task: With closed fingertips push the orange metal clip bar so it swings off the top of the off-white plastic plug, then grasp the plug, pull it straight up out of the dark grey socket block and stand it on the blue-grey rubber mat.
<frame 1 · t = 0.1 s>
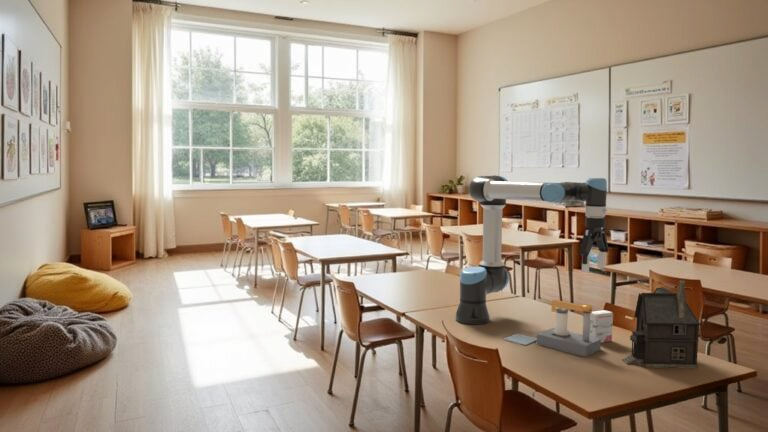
hand: (593, 270, 222), 28 cm above the table, fingers open, 13 cm apart
ink box: (599, 341, 222), on the table
plug: (560, 344, 217), resting in socket
model house: (653, 359, 201), on the table
clip: (571, 308, 212), point 15 cm above the table, hinge at 0.0°
socket: (568, 346, 214), on the table
mat: (521, 339, 223), on the table
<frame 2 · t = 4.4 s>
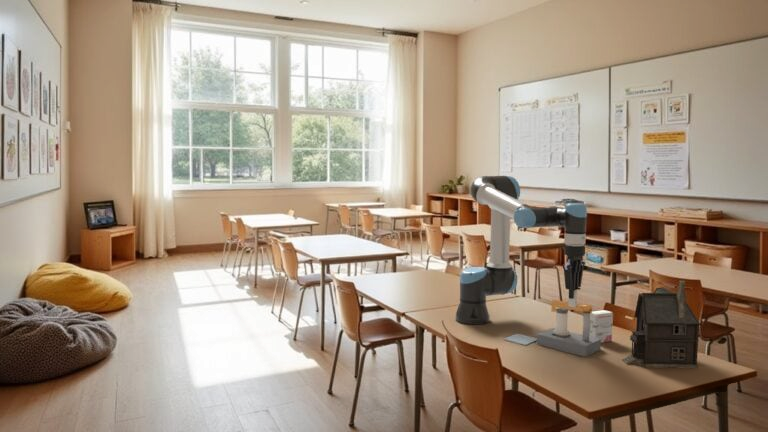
hand: (572, 306, 210), 16 cm above the table, fingers closed
clip: (571, 308, 212), point 15 cm above the table, hinge at 0.0°, touching gripper
everything else where it was.
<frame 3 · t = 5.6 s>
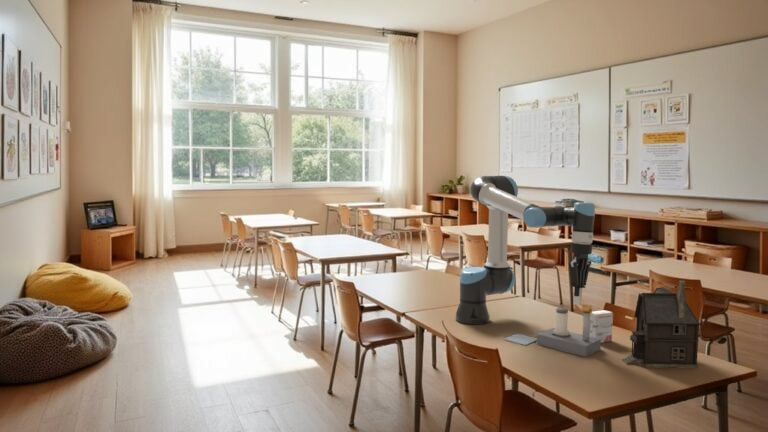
hand: (577, 304, 213), 17 cm above the table, fingers closed
clip: (582, 307, 214), point 15 cm above the table, hinge at 47.2°, touching gripper
everything else where it was.
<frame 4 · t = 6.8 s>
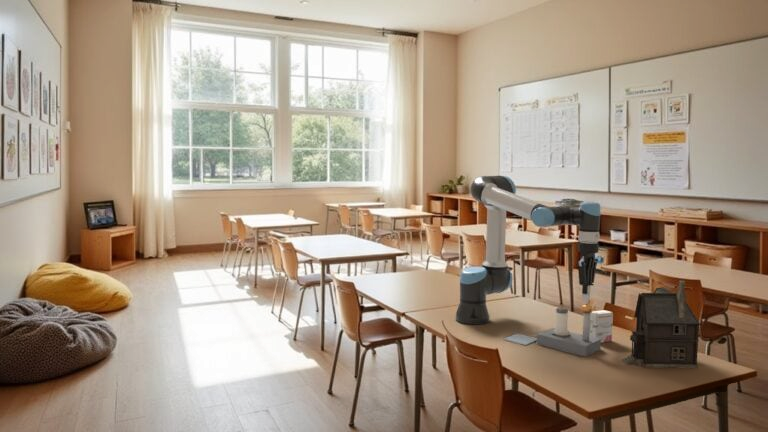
hand: (585, 301, 218), 16 cm above the table, fingers closed
clip: (589, 308, 213), point 15 cm above the table, hinge at 74.2°, touching gripper
everything else where it was.
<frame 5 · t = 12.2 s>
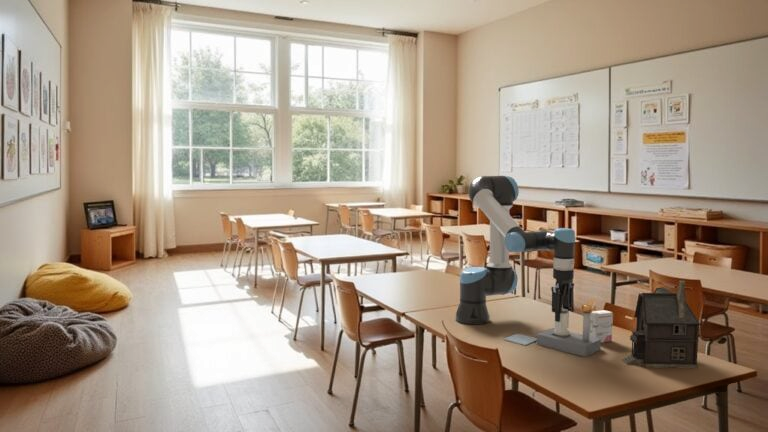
hand: (561, 328, 216), 7 cm above the table, fingers closed on plug, 4 cm apart
plug: (560, 344, 217), resting in socket, touching gripper
clip: (590, 308, 213), point 15 cm above the table, hinge at 74.5°
everything else where it was.
when the fingers open (8 cm above the table, at t = 19.6 s): plug drops 1 cm, resting on mat.
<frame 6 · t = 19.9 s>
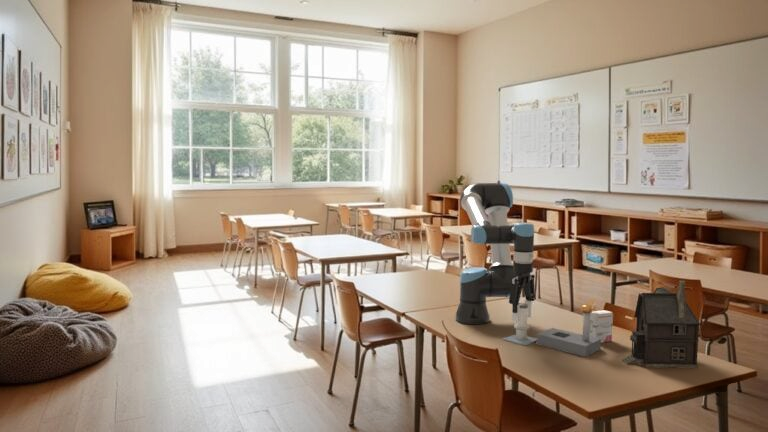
hand: (521, 318, 222), 9 cm above the table, fingers open, 8 cm apart
plug: (521, 338, 222), resting on mat
everything else where it was.
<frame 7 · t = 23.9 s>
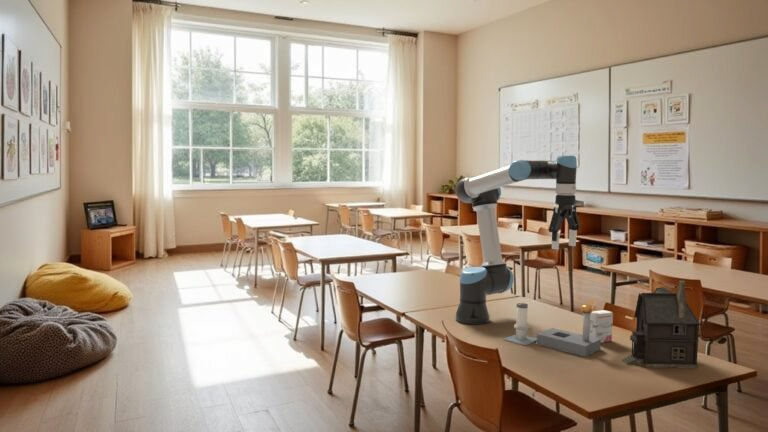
hand: (563, 247, 223), 37 cm above the table, fingers open, 13 cm apart
nothing on the table moved.
at the end: clip at +74° (first picture: +0°); plug inside the target area (0.0 cm from its centre), resting on mat; plug touching mat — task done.
